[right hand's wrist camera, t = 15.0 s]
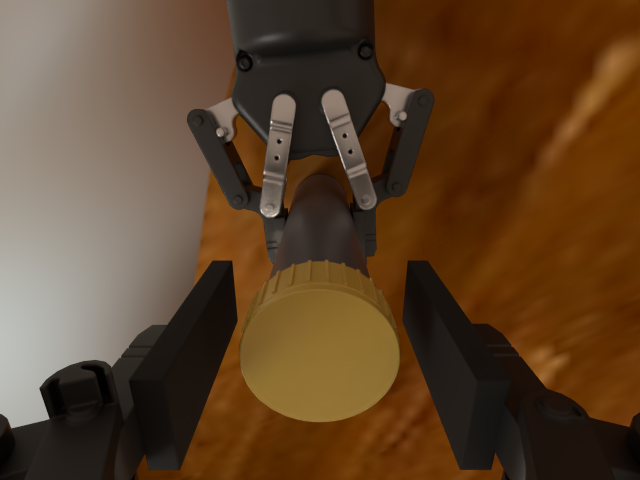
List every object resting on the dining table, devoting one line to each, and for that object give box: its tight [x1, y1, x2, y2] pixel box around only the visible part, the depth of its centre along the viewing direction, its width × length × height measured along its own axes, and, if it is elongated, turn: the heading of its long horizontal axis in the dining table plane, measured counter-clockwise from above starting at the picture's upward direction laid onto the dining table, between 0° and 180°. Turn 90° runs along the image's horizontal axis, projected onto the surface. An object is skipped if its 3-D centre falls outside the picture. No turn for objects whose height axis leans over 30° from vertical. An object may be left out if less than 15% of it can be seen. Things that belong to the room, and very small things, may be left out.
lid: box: [239, 260, 400, 422], centre depth 11 cm, size 5×5×2 cm
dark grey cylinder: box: [269, 174, 370, 280], centre depth 20 cm, size 4×4×19 cm
